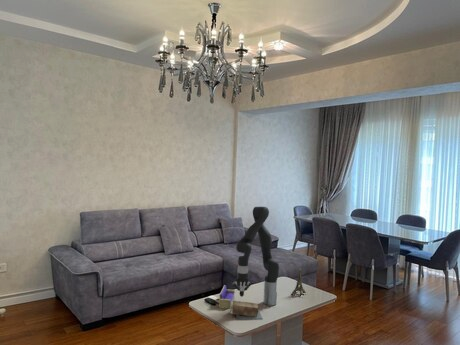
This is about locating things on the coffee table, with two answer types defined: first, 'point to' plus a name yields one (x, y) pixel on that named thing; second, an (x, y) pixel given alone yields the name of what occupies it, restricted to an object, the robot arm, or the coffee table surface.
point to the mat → (249, 316)
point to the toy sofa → (226, 298)
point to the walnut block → (244, 308)
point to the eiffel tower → (299, 284)
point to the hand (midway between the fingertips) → (241, 296)
